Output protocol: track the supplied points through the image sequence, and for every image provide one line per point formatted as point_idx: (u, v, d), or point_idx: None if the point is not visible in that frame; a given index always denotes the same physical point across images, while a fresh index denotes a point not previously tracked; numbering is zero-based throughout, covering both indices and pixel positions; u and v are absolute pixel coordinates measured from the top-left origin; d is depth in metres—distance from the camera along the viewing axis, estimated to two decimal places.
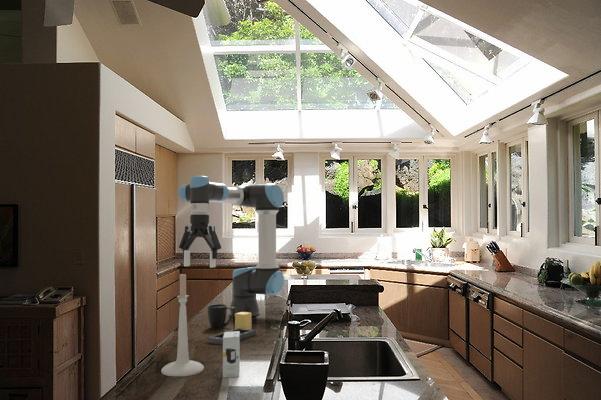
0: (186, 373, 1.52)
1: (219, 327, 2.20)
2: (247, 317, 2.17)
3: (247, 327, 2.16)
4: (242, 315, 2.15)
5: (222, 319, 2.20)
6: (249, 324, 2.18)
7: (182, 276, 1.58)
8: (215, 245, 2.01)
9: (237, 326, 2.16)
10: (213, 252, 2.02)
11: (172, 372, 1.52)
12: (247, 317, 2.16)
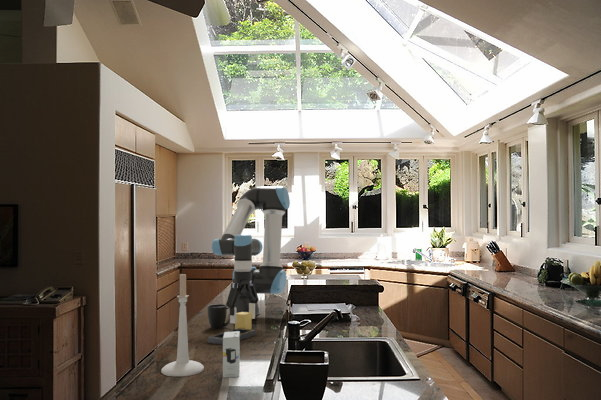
0: (186, 373, 1.52)
1: (219, 327, 2.20)
2: (247, 317, 2.17)
3: (247, 327, 2.16)
4: (242, 315, 2.15)
5: (222, 319, 2.20)
6: (249, 324, 2.18)
7: (182, 276, 1.58)
8: None
9: (237, 326, 2.16)
10: None
11: (172, 372, 1.52)
12: (247, 317, 2.16)
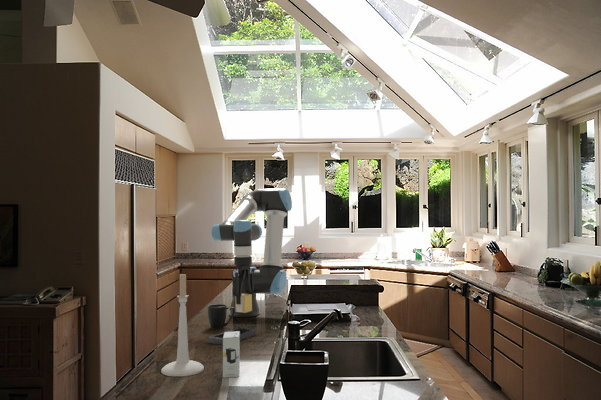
0: (186, 373, 1.52)
1: (219, 327, 2.20)
2: (248, 299, 2.17)
3: (247, 308, 2.17)
4: None
5: (222, 319, 2.20)
6: (250, 306, 2.19)
7: (182, 276, 1.58)
8: None
9: None
10: None
11: (172, 372, 1.52)
12: (247, 299, 2.17)
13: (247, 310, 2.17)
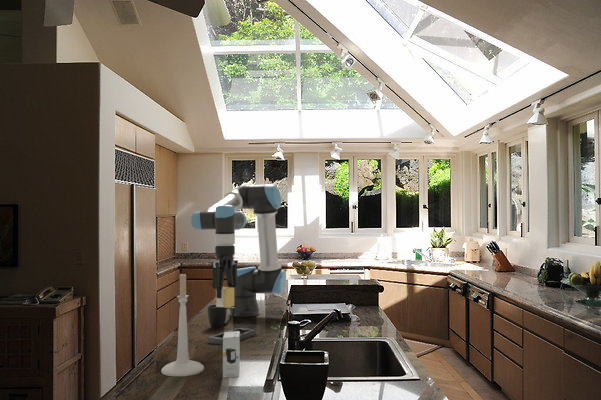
0: (186, 373, 1.52)
1: (219, 327, 2.20)
2: (230, 292, 1.96)
3: (229, 303, 1.95)
4: None
5: (222, 319, 2.20)
6: (232, 300, 1.97)
7: (182, 276, 1.58)
8: None
9: None
10: None
11: (172, 372, 1.52)
12: (229, 292, 1.95)
13: (229, 305, 1.95)
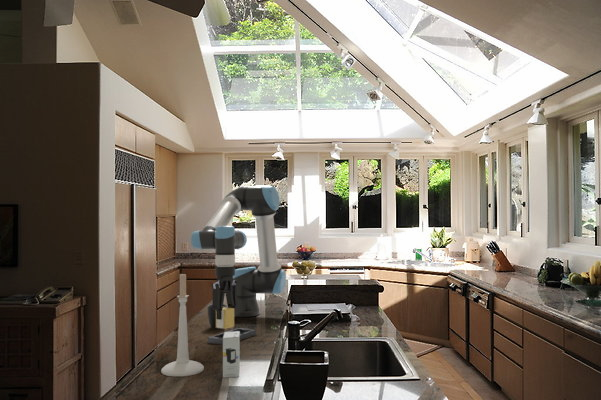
0: (186, 373, 1.52)
1: None
2: (230, 313, 1.96)
3: (229, 324, 1.95)
4: None
5: None
6: (232, 321, 1.97)
7: (182, 276, 1.58)
8: None
9: None
10: None
11: (172, 372, 1.52)
12: (229, 313, 1.95)
13: (229, 326, 1.95)
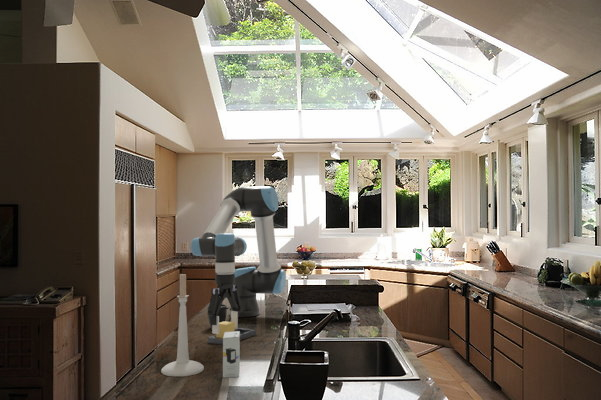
0: (186, 373, 1.52)
1: None
2: (230, 328, 1.96)
3: None
4: (224, 325, 1.94)
5: (222, 319, 2.20)
6: None
7: (182, 276, 1.58)
8: None
9: None
10: None
11: (172, 372, 1.52)
12: (229, 327, 1.95)
13: None
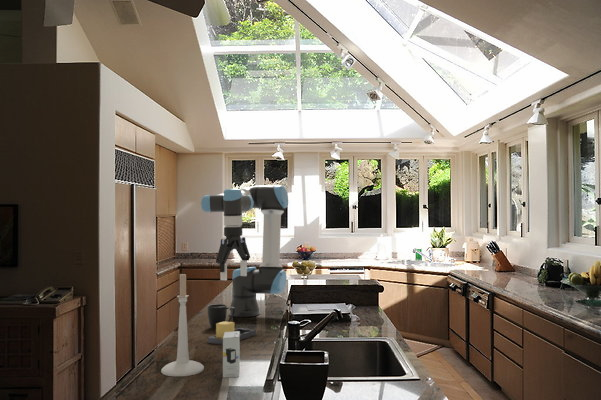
0: (186, 373, 1.52)
1: None
2: (230, 328, 1.96)
3: None
4: (224, 325, 1.94)
5: (222, 319, 2.20)
6: None
7: (182, 276, 1.58)
8: None
9: None
10: None
11: (172, 372, 1.52)
12: (229, 327, 1.95)
13: None
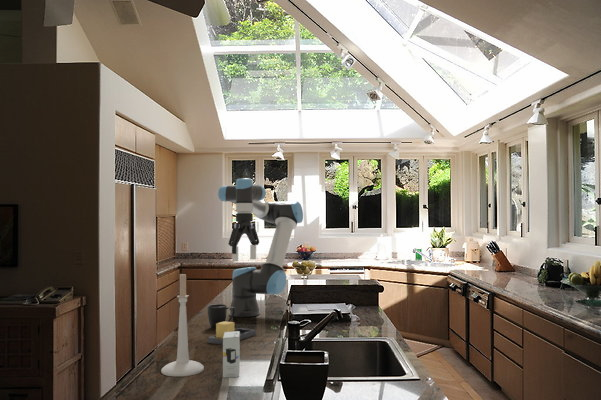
0: (186, 373, 1.52)
1: None
2: (230, 328, 1.96)
3: None
4: (224, 325, 1.94)
5: (222, 319, 2.20)
6: None
7: (182, 276, 1.58)
8: None
9: None
10: None
11: (172, 372, 1.52)
12: (229, 327, 1.95)
13: None
